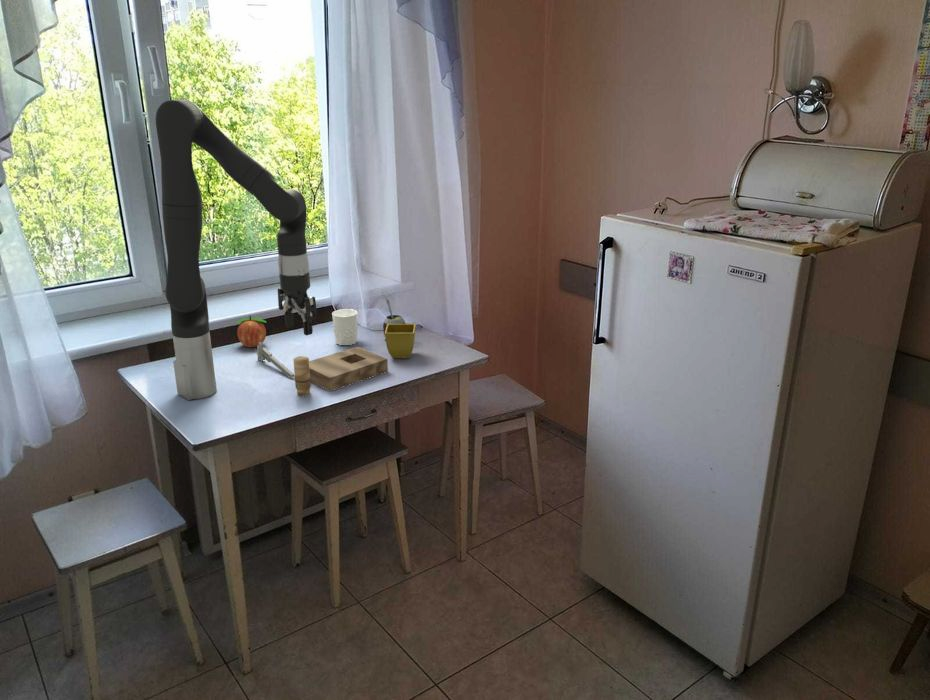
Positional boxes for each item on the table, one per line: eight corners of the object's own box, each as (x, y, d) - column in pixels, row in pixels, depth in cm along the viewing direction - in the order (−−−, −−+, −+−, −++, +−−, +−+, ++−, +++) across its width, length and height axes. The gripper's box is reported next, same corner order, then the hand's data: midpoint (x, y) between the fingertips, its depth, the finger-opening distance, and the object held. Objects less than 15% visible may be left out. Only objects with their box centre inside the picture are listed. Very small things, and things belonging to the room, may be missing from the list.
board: (330, 391, 205) (329, 377, 203) (301, 376, 214) (300, 363, 213) (387, 371, 218) (387, 358, 217) (358, 358, 227) (357, 346, 226)
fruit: (263, 350, 233) (261, 320, 229) (233, 350, 233) (229, 319, 230) (271, 341, 241) (268, 311, 238) (241, 340, 241) (238, 311, 238)
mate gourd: (404, 344, 239) (403, 299, 234) (379, 344, 239) (378, 299, 234) (407, 336, 246) (406, 292, 240) (382, 336, 246) (381, 292, 241)
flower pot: (388, 350, 234) (387, 323, 231) (416, 350, 234) (415, 323, 231) (385, 361, 226) (384, 333, 223) (414, 361, 226) (414, 333, 223)
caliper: (257, 360, 226) (255, 341, 224) (261, 360, 227) (259, 340, 224) (293, 380, 212) (292, 360, 210) (297, 379, 213) (295, 359, 211)
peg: (301, 397, 201) (298, 363, 197) (292, 393, 204) (290, 358, 200) (314, 393, 204) (312, 359, 200) (305, 389, 206) (303, 355, 203)
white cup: (334, 338, 244) (332, 309, 240) (359, 338, 245) (357, 308, 241) (333, 347, 236) (331, 317, 233) (358, 346, 237) (357, 316, 234)
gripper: (266, 268, 194) (271, 327, 199) (297, 278, 184) (302, 340, 190) (291, 262, 199) (296, 321, 204) (322, 272, 189) (326, 333, 195)
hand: (299, 330), depth 197 cm, fingers open, 8 cm apart
